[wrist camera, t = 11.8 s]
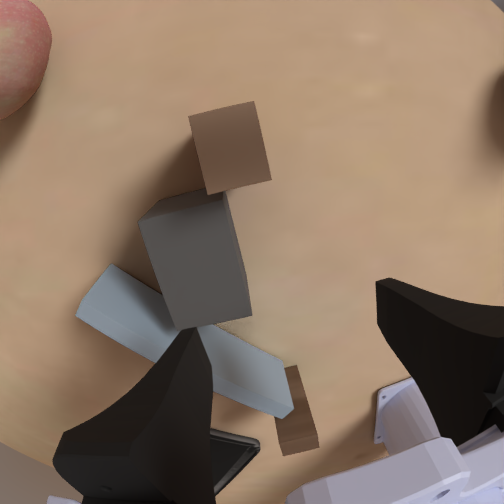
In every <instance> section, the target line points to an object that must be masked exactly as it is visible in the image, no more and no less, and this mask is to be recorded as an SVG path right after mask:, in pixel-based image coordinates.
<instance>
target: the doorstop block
mask: <svg viewBox="0 0 504 504" xmlns="http://www.w3.org/2000/svg"><path fill="white" fill-rule="evenodd" d="M138 225H139V228H140V231H141V234H142V237H143V240H144V243H145V246H146V249H147V252H148V255H149V258H150V261H151V264H152V267H153V270H154V272H155V275H156V278H157V281H158V283H159V286H160V289H161V291H162V294H163V297H164V299H165V302H166V305H167V307H168V310H169V312H170V315H171V317H172V320H173V322H174V325H175V327H176V330H177V331H181V330H182V329H187V328H192V327H202V326H207V325H211V324H216V323H221V322H226V321H230V320H235V319H239V318H244V317H248V316H252V309H251V303H250V296H249V289H248V282H247V276H246V272H245V268H244V264H243V260H242V256H241V252H240V248H239V244H238V240H237V236H236V232H235V228H234V224H233V220H232V216H231V212H230V207H229V203H228V199H227V195H226V191H222V192H218V193H214V194H210V195H208V194H207V190H206V188H204V189H200V190H196V191H193V192H189V193H185V194H181V195H178V196H174V197H170V198H167V199H163V200H159V201H158V202H157V203H156V204H155V205H154V206H153V207H152V208H151V209H150V210H149V211H148V212H147V213H146V214H145V215H144V216H143V217H142V218H141V219H140V220H139V221H138Z"/></svg>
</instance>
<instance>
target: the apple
mask: <svg viewBox="0 0 504 504" xmlns="http://www.w3.org/2000/svg"><path fill="white" fill-rule="evenodd" d="M51 44H52V34H51V30H50V28H49V25H48V22H47V20H46V18H45V16H44V14H43V13H42V12H41V10H40V9H39V8H38V7H37V6H36V5H34V4H33V3H32V2H30V1H28V0H0V120H1V119H4V118H6V117H7V116H9V115H11V114H12V113H14V112H15V111H17V110H18V109H19V108H21V107H22V106H23V105H24V104H25V103H26V102H27V101H28V100H29V99H30V98H31V96H32V95H33V94H34V93H35V92H36V90H37V89H38V87H39V86H40V84H41V81H42V79H43V76H44V72H45V70H46V67H47V64H48V60H49V53H50V49H51Z"/></svg>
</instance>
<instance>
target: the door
mask: <svg viewBox="0 0 504 504" xmlns="http://www.w3.org/2000/svg"><path fill="white" fill-rule="evenodd" d="M75 316H77V317H78V318H80V319H81V320H83V321H84V322H86V323H87V324H89V325H90V326H92V327H94V328H95V329H97V330H98V331H100V332H102V333H103V334H105V335H107V336H108V337H110V338H112V339H113V340H115V341H117V342H118V343H120V344H122V345H124V346H125V347H127V348H129V349H131V350H132V351H134V352H136V353H138V354H140V355H141V356H143V357H145V358H147V359H149V360H151V361H152V362H154V363H156V362H157V361H158V360H159V359H160V357H161V356H162V355H163V353H164V352H165V351H166V349H167V348H168V347H169V345H170V344H171V343H172V341H173V340H174V339H175V337H176V336H177V335H178V334H179V332H180V331H177V330H176V327H175V325H174V322H173V320H172V317H171V315H170V312H169V310H168V307H167V305H166V302H165V299H164V297H163V295H161V294H159V293H158V292H156V291H155V290H153V289H151V288H150V287H148V286H146V285H145V284H143V283H141V282H140V281H138V280H137V279H135V278H133V277H132V276H130V275H129V274H127V273H126V272H124V271H122V270H121V269H119V268H118V267H116V266H115V265H113V264H112V263H111V264H110V265H109V267H108V268H107V269H106V270H105V271H104V273H103V274H102V275H101V276H100V278H99V279H98V280H97V281H96V283H95V284H94V285H93V287H92V288H91V289H90V290H89V292H88V293H87V294H86V295H85V297H84V298H83V299H82V301H81V304H80V306H79V308H78V310H77V313H76V315H75ZM197 330H198V332H199V335H200V337H201V340H202V342H203V345H204V348H205V350H206V353H207V355H208V358H209V360H210V362H211V365H212V375H213V391H214V392H216V393H218V394H221V395H223V396H225V397H227V398H230V399H232V400H234V401H237V402H239V403H242V404H244V405H247V406H249V407H252V408H254V409H257V410H259V411H262V412H264V413H267V414H270V415H272V416H275V417H278V418H280V419H283V418H284V417H285V416H286V415H288V414H289V413H290V412H291V411H292V410H293V409H294V406H293V402H292V398H291V394H290V390H289V386H288V382H287V378H286V374H285V370H284V366H283V362H282V360H280V359H278V358H276V357H274V356H272V355H270V354H268V353H266V352H264V351H262V350H260V349H258V348H256V347H254V346H252V345H250V344H248V343H247V342H245V341H243V340H241V339H239V338H237V337H235V336H233V335H231V334H230V333H228V332H226V331H224V330H222V329H220V328H219V327H217V326H215V325H213V324H211V325H207V326H202V327H197Z"/></svg>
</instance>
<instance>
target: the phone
mask: <svg viewBox="0 0 504 504" xmlns="http://www.w3.org/2000/svg"><path fill="white" fill-rule="evenodd" d="M259 451H260V442H259V441H258V440H257V439H254V438H250V437H245V436H241V435H236V434H232V433H228V432H223V431H219V430H215V429H211V428H210V452H211V465H212V476H213V485H214V493H215V496H216V495H217V494H218V493H219V492H220V491H221V490H222V489H223V488H225V487H226V486H227V485H228V484H229V483H230V482H231V481H232V480H233V479H234V478H235V477H236V476H237V475H238V474H239V473H240V472H241V471H242V470H243V469H244V467H245V466H246V465H247V464H248V463H249V462H250V461H251V460H252V459H253V458H254V457H255V456H256V455H257V454H258V453H259Z"/></svg>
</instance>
